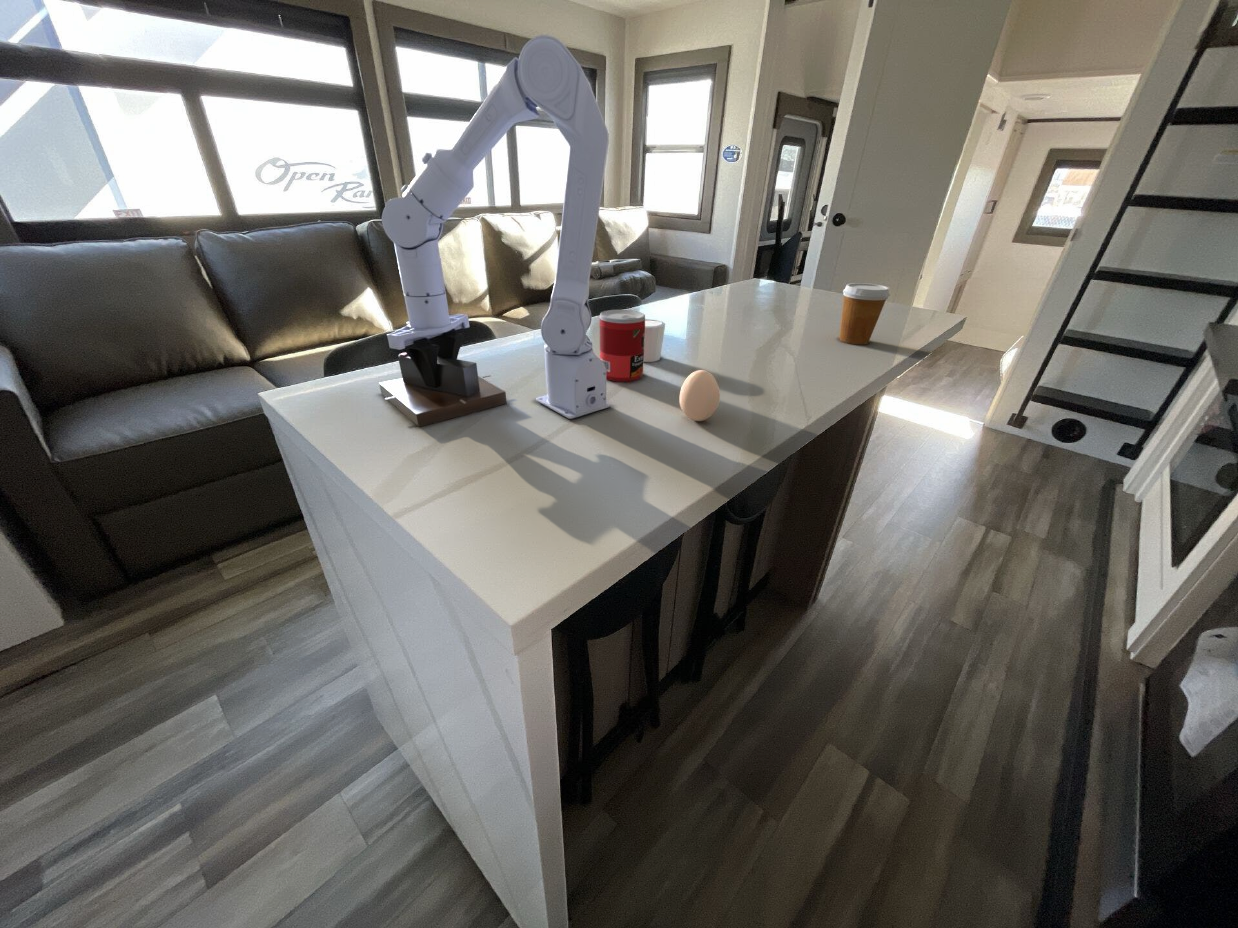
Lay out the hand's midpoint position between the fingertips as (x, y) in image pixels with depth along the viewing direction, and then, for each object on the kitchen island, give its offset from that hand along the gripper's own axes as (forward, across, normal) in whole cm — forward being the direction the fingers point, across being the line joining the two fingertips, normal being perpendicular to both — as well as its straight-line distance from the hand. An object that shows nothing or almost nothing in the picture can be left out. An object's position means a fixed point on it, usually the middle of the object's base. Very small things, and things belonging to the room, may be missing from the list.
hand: (440, 382), depth 77 cm
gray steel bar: (+1, 0, 0) cm, 1 cm away
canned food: (+3, -24, +21) cm, 31 cm away
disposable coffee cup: (+3, -70, +58) cm, 91 cm away
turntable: (+3, 0, 0) cm, 3 cm away
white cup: (+3, -36, +21) cm, 41 cm away
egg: (+3, -11, +39) cm, 41 cm away
